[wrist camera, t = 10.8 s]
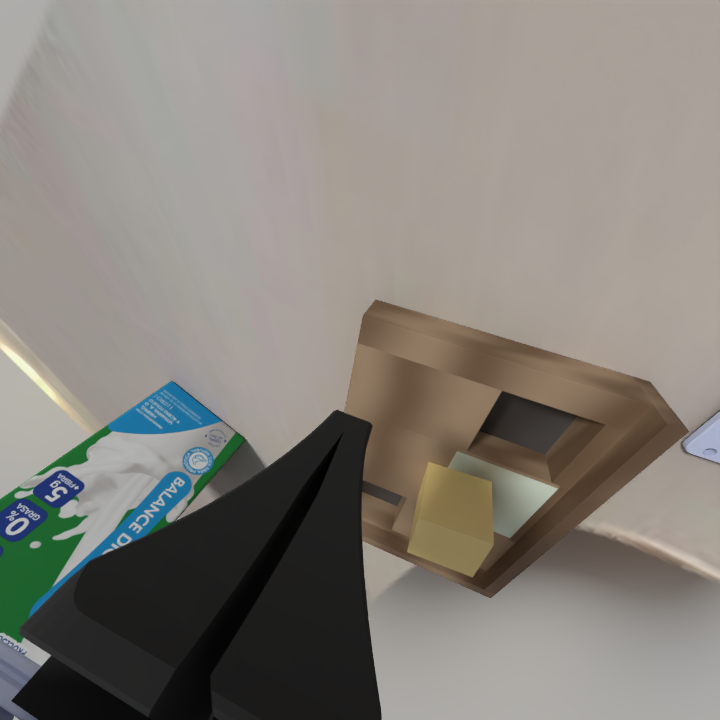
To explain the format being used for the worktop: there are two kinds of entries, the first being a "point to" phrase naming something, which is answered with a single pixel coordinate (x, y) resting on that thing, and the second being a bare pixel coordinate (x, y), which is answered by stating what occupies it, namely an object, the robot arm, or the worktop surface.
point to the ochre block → (453, 520)
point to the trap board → (494, 434)
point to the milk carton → (104, 499)
